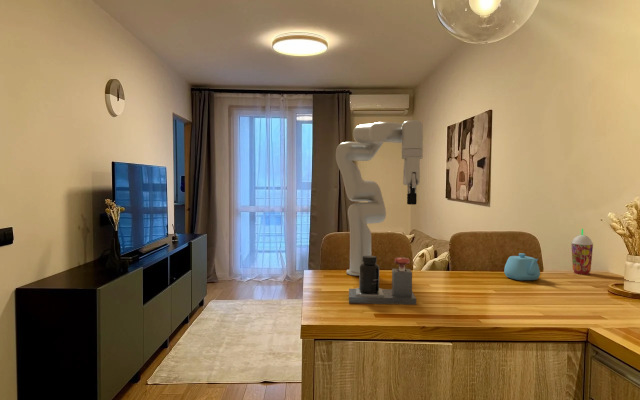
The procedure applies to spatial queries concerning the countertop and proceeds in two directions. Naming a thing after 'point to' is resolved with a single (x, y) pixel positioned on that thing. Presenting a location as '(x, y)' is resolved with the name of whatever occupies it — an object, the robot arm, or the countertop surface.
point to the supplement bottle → (369, 275)
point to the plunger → (402, 262)
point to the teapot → (522, 268)
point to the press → (388, 291)
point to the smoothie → (582, 254)
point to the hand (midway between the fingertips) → (411, 204)
